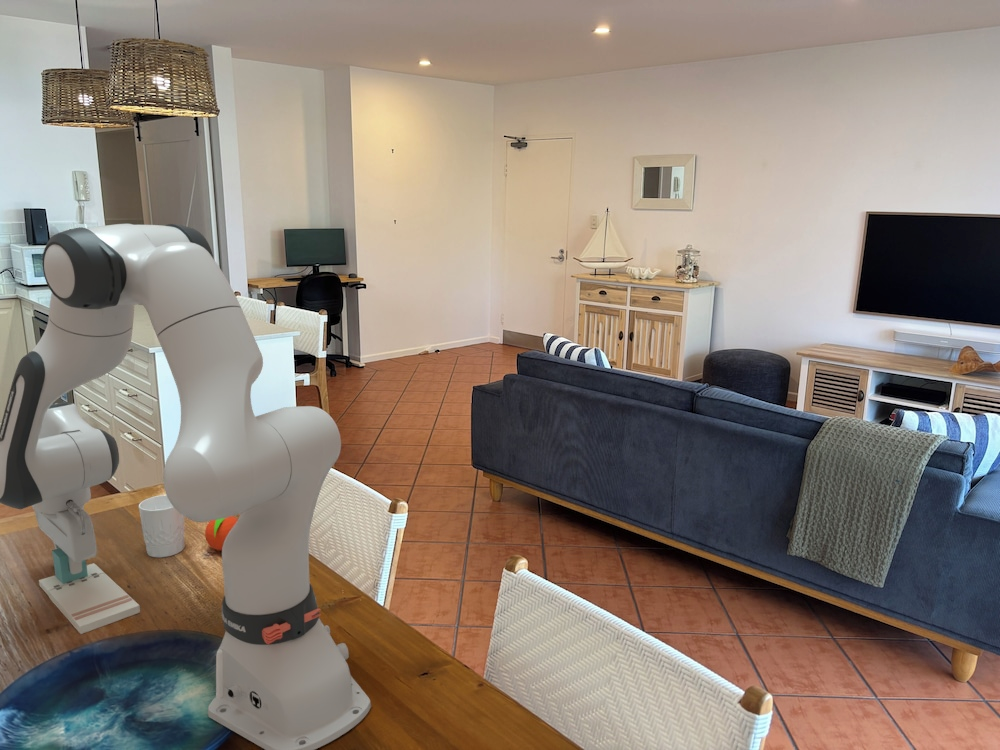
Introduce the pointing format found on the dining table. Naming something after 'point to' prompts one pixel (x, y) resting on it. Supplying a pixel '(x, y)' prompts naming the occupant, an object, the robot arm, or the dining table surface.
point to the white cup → (161, 527)
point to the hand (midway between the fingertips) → (70, 566)
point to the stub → (66, 572)
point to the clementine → (219, 531)
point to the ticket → (93, 602)
